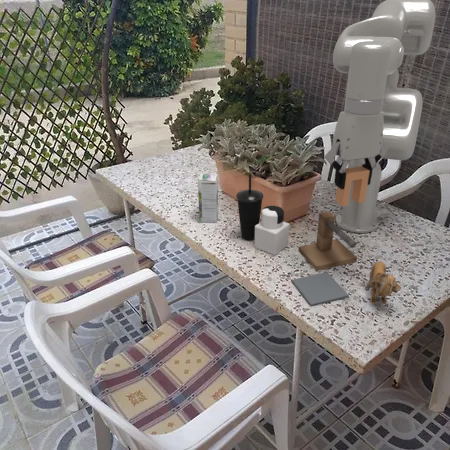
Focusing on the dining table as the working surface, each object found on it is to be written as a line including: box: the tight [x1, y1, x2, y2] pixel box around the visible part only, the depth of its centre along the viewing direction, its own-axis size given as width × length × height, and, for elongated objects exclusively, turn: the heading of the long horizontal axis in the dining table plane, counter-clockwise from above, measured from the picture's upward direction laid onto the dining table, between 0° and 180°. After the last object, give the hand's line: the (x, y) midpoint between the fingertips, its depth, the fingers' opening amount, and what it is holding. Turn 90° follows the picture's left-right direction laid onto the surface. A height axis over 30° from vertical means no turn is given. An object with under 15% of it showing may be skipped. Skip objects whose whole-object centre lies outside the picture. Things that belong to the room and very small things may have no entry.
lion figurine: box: [366, 261, 403, 305], centre depth 99 cm, size 15×5×9 cm, turn 177°
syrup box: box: [197, 172, 219, 224], centre depth 131 cm, size 6×6×14 cm
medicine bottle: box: [254, 205, 291, 256], centre depth 117 cm, size 7×7×12 cm
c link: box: [334, 166, 370, 207], centre depth 97 cm, size 6×3×8 cm, turn 108°
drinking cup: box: [235, 173, 264, 242], centre depth 120 cm, size 8×8×20 cm
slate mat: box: [291, 271, 350, 307], centre depth 102 cm, size 10×10×1 cm
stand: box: [298, 210, 358, 272], centre depth 110 cm, size 12×16×12 cm
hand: (352, 184), depth 97 cm, fingers closed on c link, 6 cm apart
